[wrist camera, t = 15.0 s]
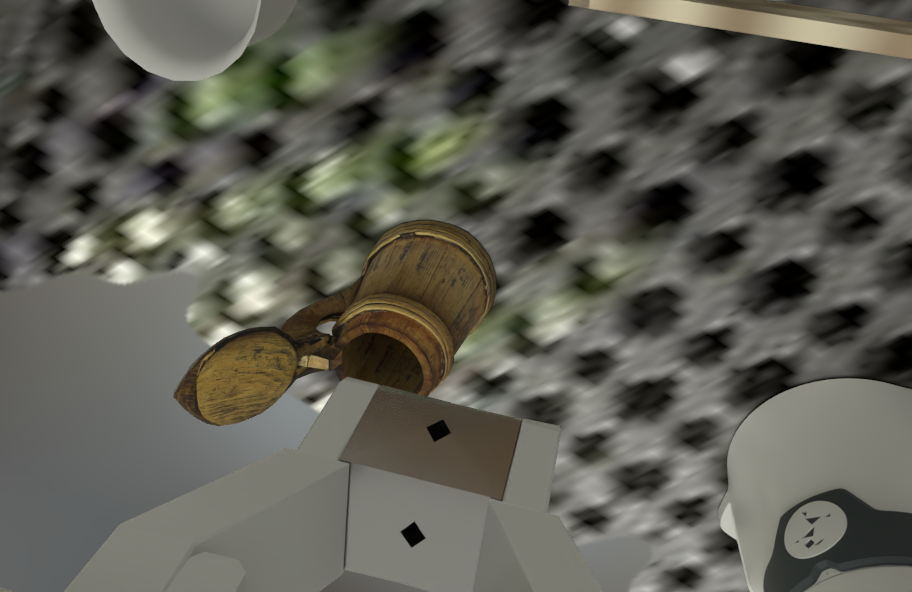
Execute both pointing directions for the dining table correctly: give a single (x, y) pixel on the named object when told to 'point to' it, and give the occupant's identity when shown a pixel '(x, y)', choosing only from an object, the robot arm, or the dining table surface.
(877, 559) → the robot arm
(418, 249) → the wooden mug
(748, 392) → the dining table surface
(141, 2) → the chalice
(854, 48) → the box
